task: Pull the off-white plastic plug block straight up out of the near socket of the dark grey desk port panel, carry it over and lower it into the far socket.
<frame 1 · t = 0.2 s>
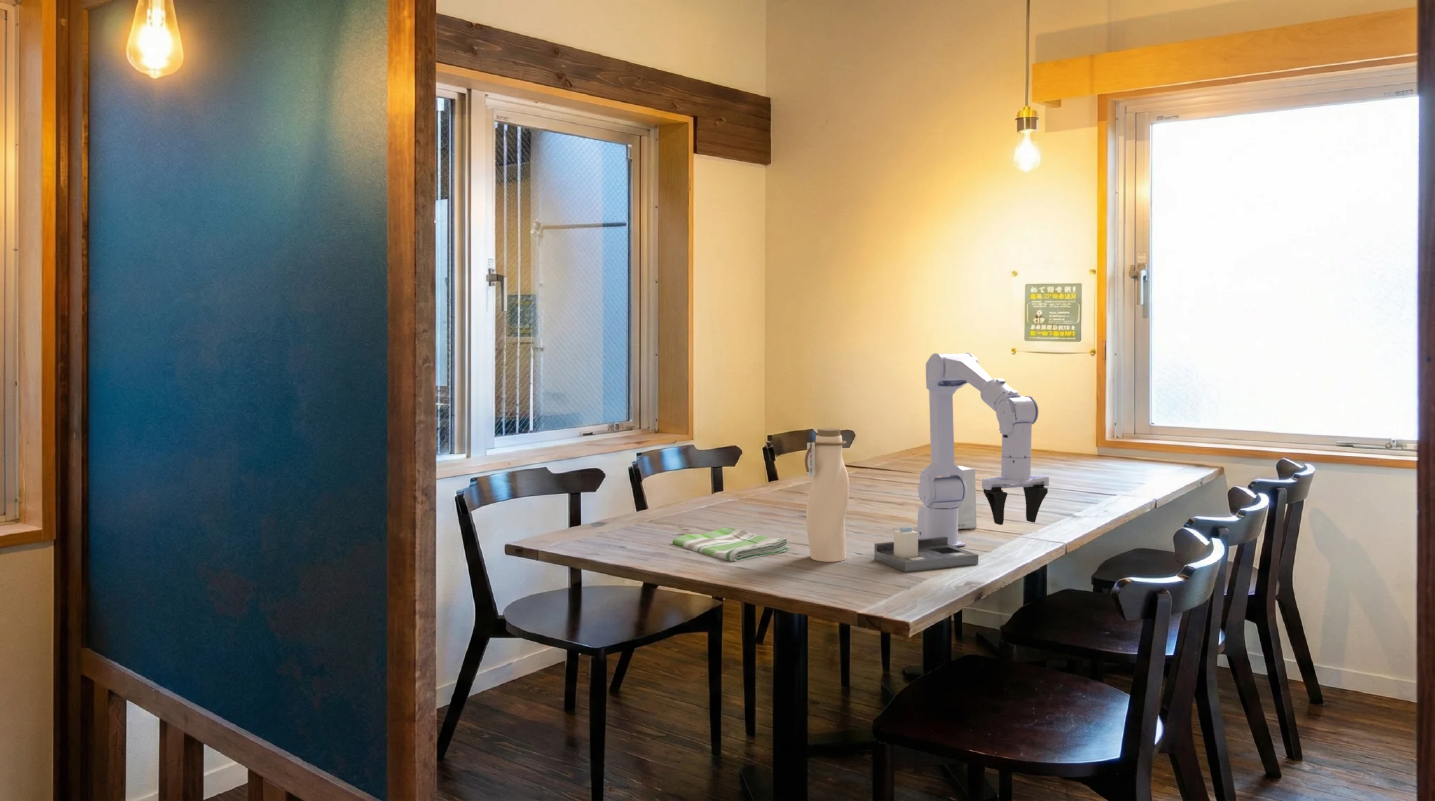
hand: (1014, 522, 203), 10 cm above the table, tool pointing down, fingers open, 7 cm apart
water bottle: (826, 559, 216), on the table
dish towel: (730, 550, 227), on the table
skincare box: (958, 526, 250), on the table
plug: (905, 564, 210), resting in port panel
port panel: (925, 561, 212), on the table
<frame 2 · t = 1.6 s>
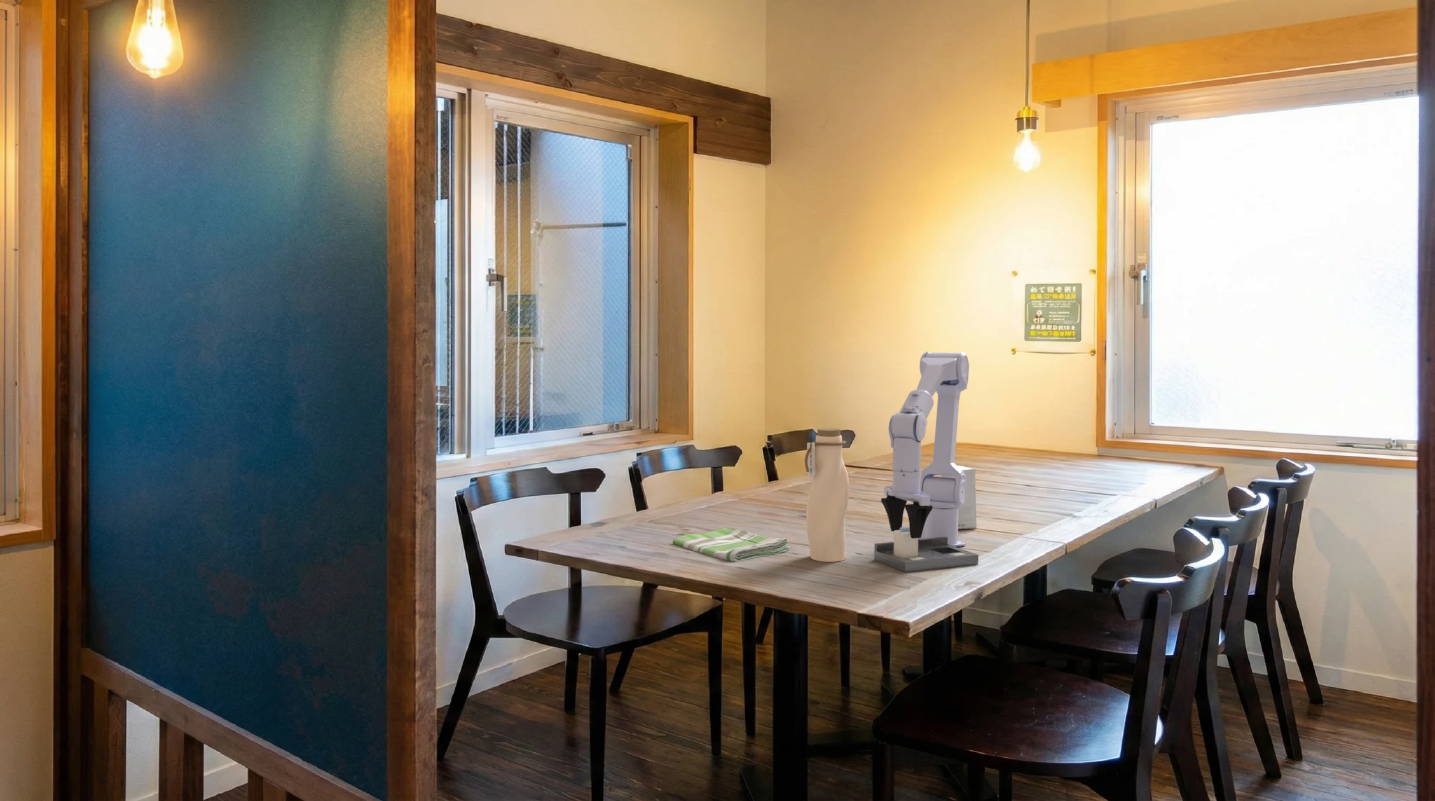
hand: (905, 534, 210), 6 cm above the table, tool pointing down, fingers open, 7 cm apart
nothing on the table moved.
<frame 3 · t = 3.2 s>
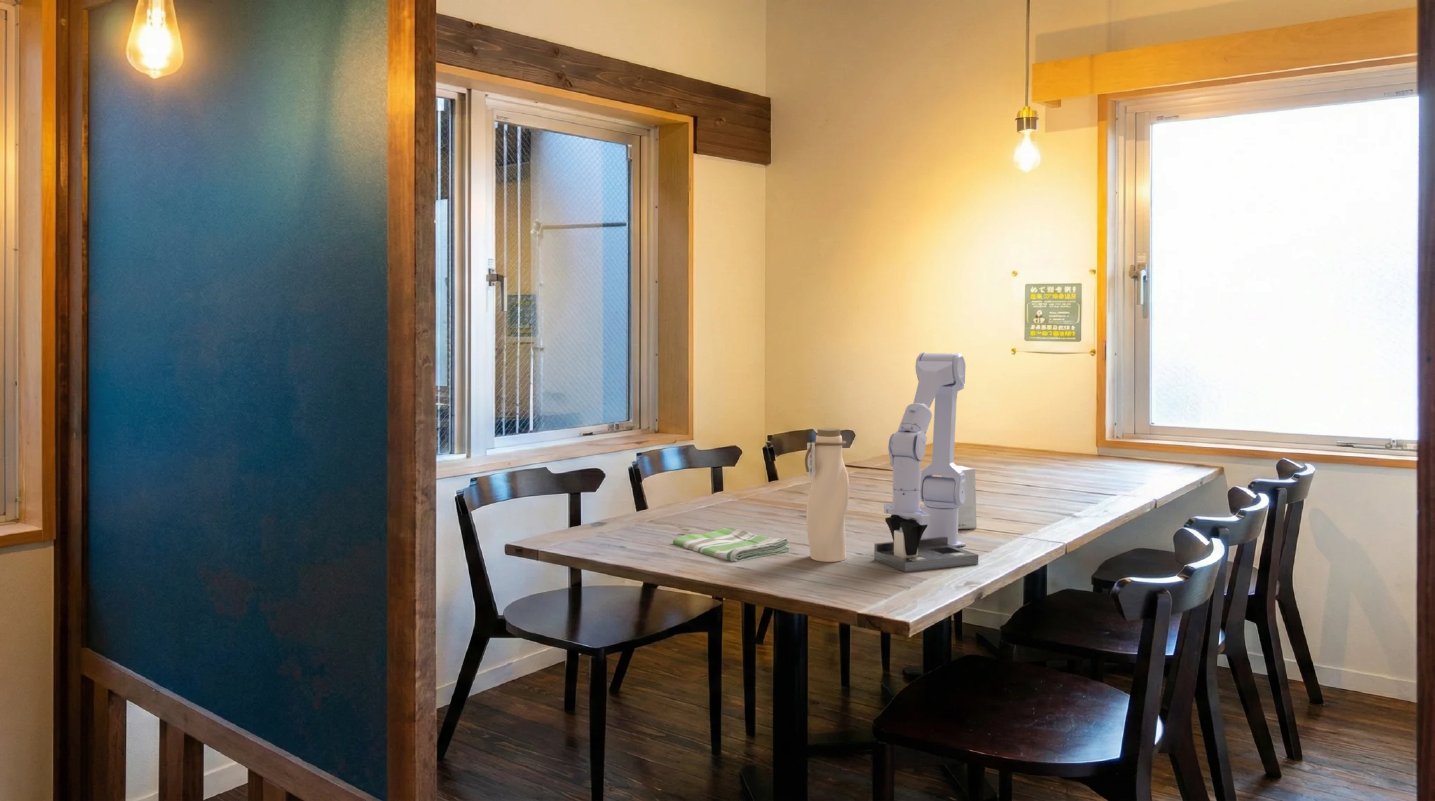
hand: (905, 552, 210), 2 cm above the table, tool pointing down, fingers closed on plug, 4 cm apart
plug: (905, 564, 210), resting in port panel, touching gripper
everything else where it was.
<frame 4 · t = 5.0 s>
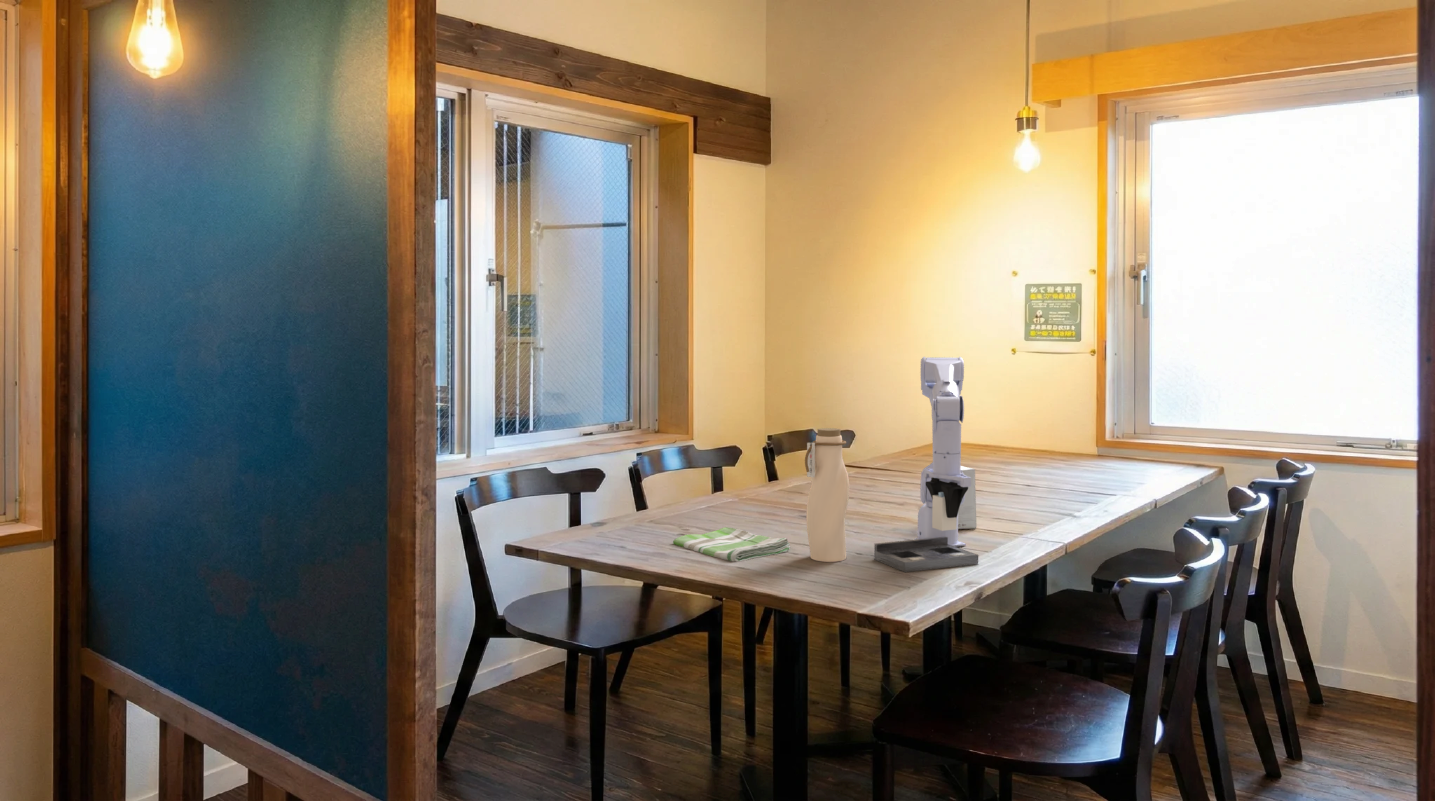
hand: (946, 515, 213), 10 cm above the table, tool pointing down, fingers closed on plug, 4 cm apart
plug: (944, 528, 213), point 7 cm above the table, touching gripper
everything else where it was.
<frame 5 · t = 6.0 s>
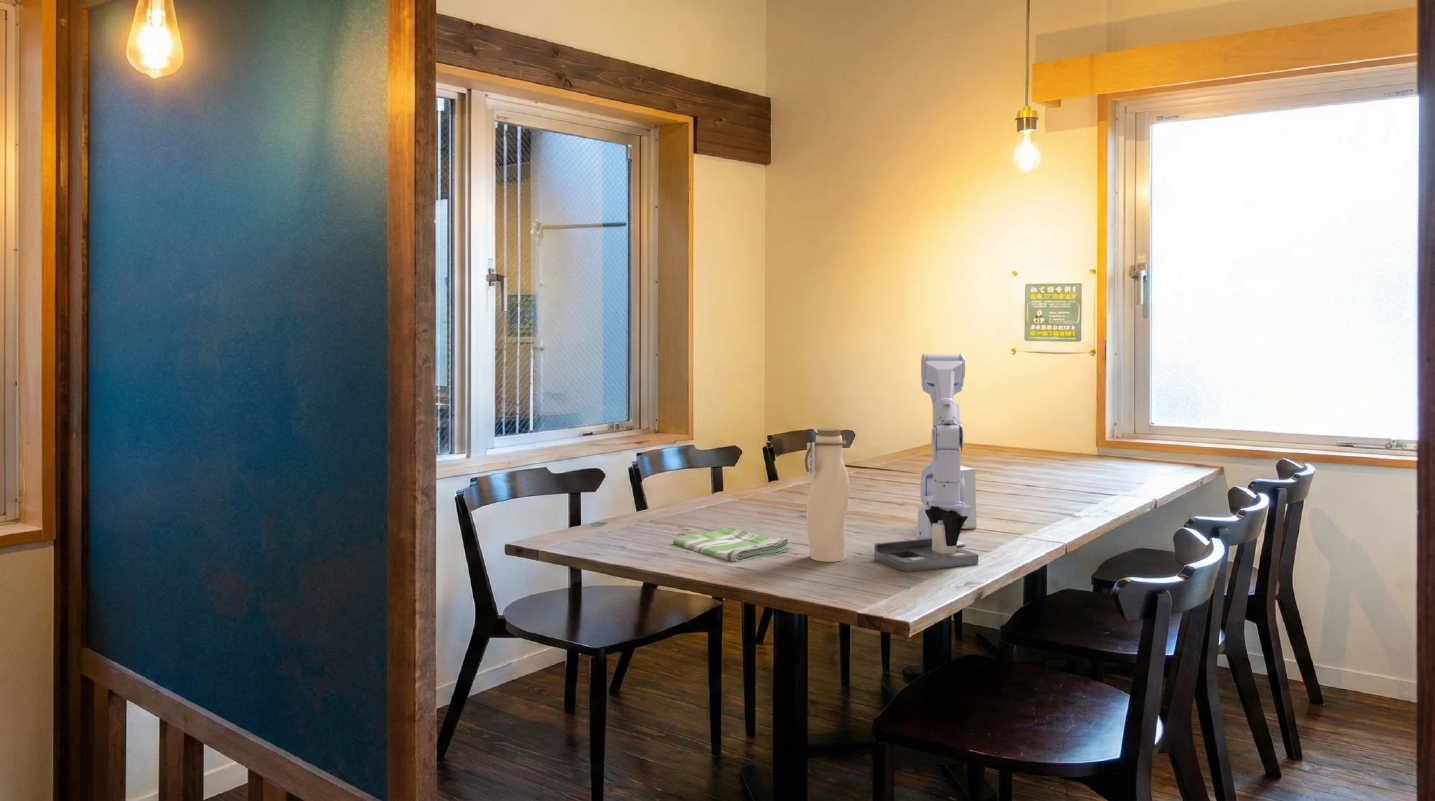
hand: (945, 543, 214), 3 cm above the table, tool pointing down, fingers closed on plug, 4 cm apart
plug: (943, 556, 214), point 1 cm above the table, touching gripper
everything else where it was.
when the fingers open (3 cm above the table, at t = 6.8 s): plug stays where it is, resting in port panel.
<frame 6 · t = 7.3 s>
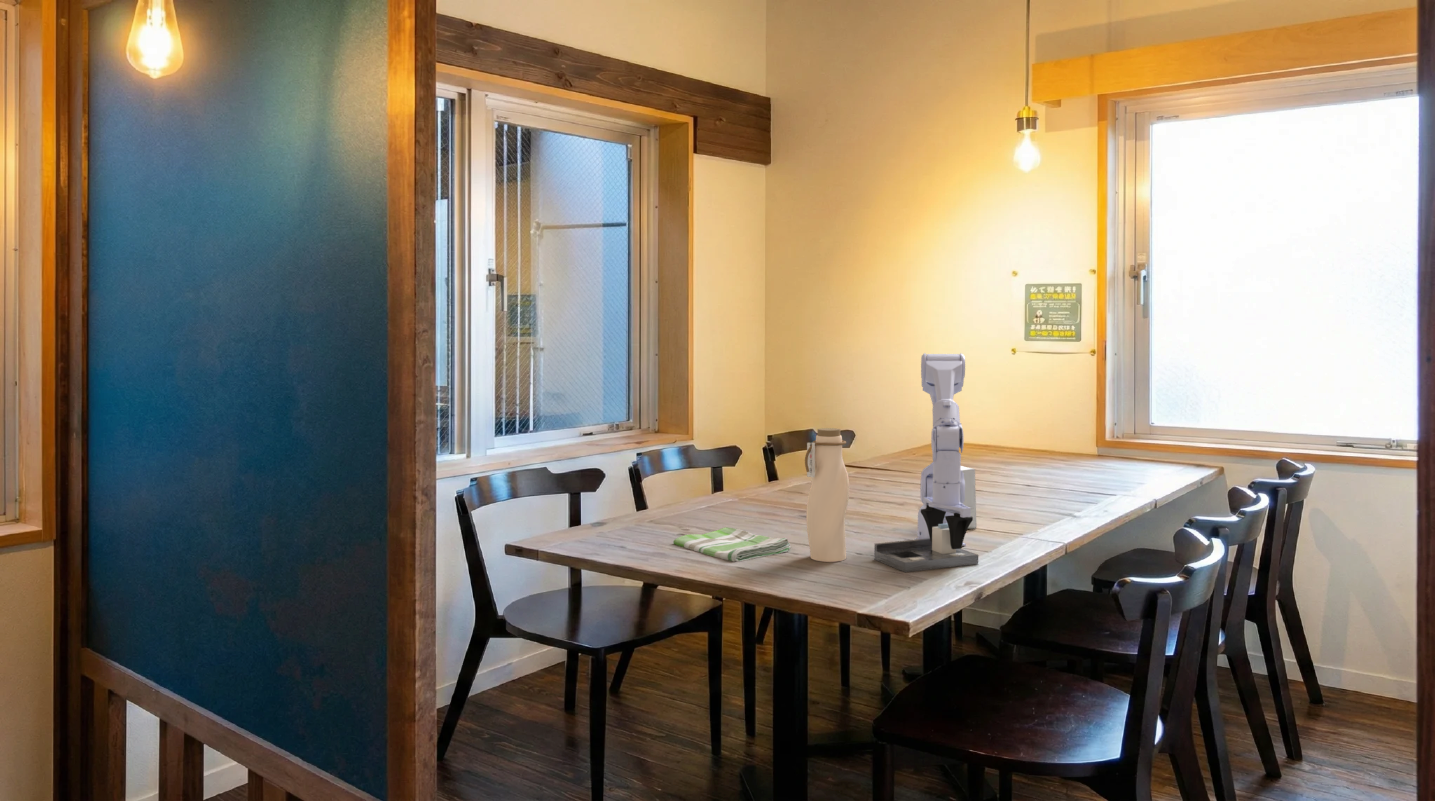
hand: (945, 544, 214), 3 cm above the table, tool pointing down, fingers open, 7 cm apart
plug: (943, 560, 214), resting in port panel
everything else where it was.
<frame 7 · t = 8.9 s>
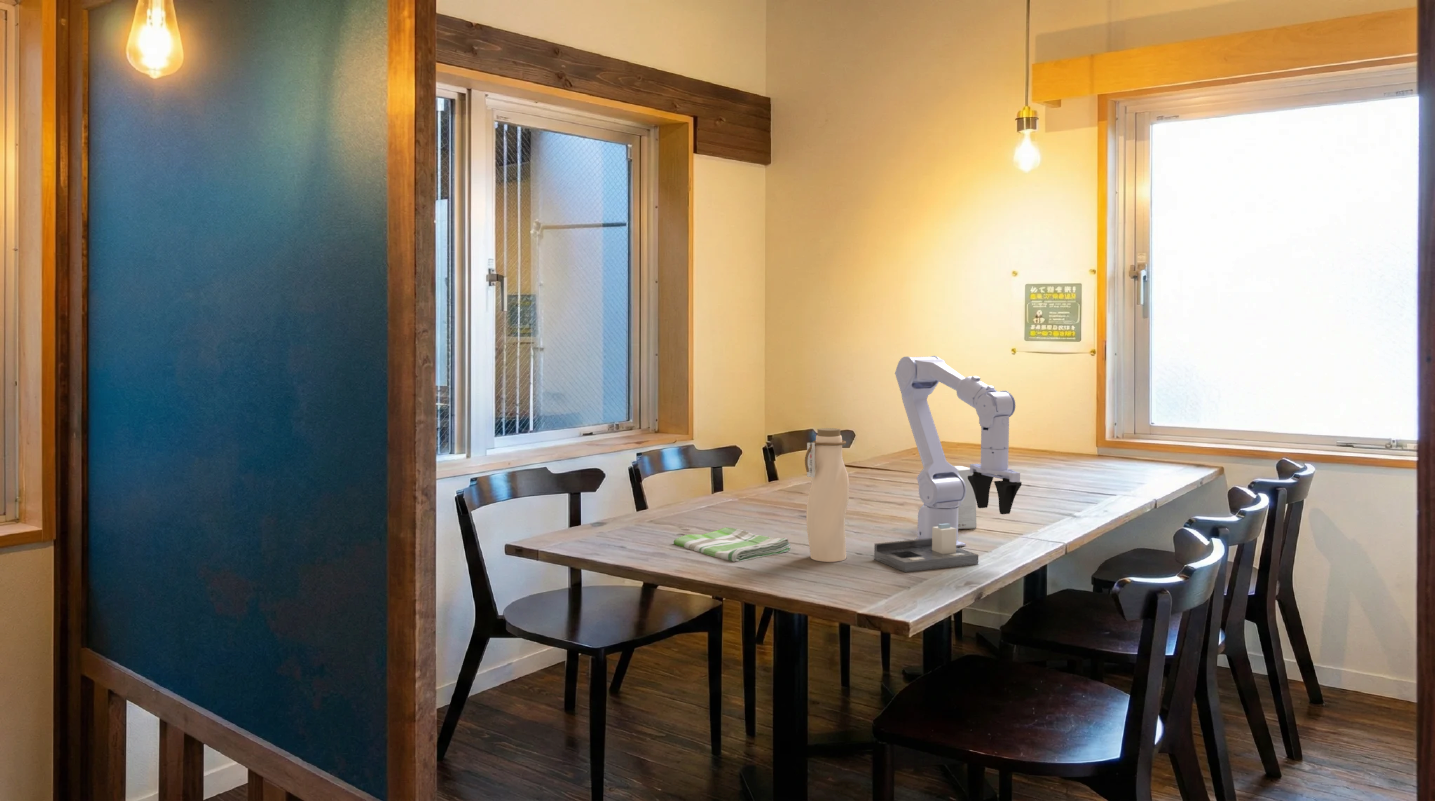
hand: (993, 510, 214), 10 cm above the table, tool pointing down, fingers open, 7 cm apart
nothing on the table moved.
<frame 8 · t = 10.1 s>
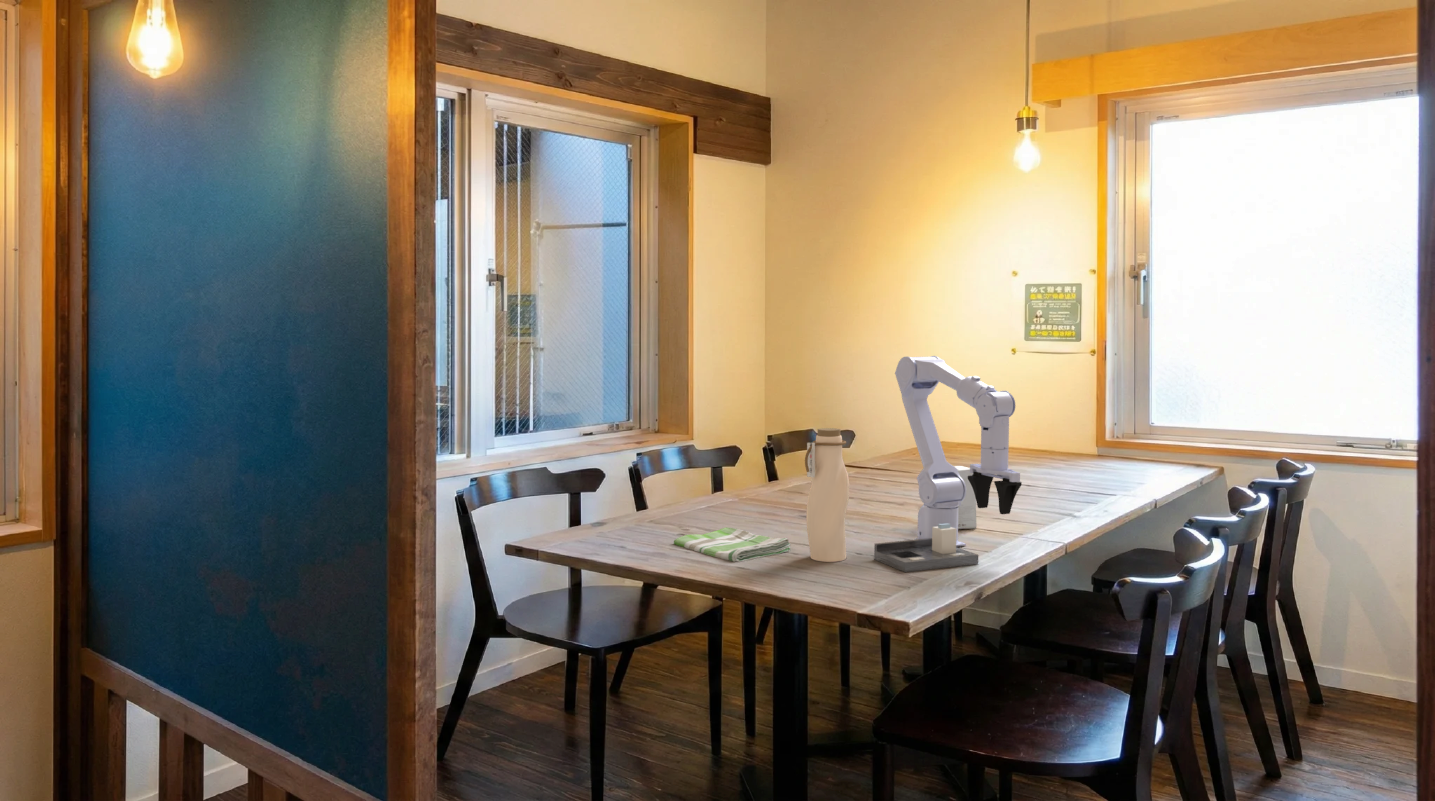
hand: (993, 510, 214), 10 cm above the table, tool pointing down, fingers open, 7 cm apart
nothing on the table moved.
at the end: plug 0.4 cm from the target spot on the port panel, point 0.0 cm above the port panel's base; plug tilted 0°; the gripper is holding nothing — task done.
